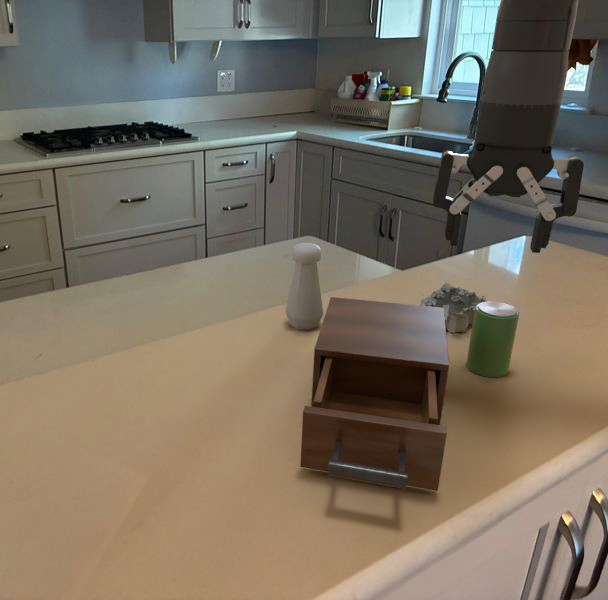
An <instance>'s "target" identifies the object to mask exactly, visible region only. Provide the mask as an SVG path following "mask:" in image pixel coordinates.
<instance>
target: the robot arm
mask: <svg viewBox="0 0 608 600" xmlns="http://www.w3.org/2000/svg"><path fill="white" fill-rule="evenodd" d="M578 5H579V0H500V3H499V7H498V9H497V14H496V20H495V25H494V32H493V37H492V43H491V44H492V45H491V50H490V56H489V59H488V63H487V66H486V69H485V73H484V78H483V84H482V86H481V89H480V94H481V96H480V97H481V98H480V103H479V110H478V114H477V115H478V116H477V123H476V127H475V128H476V129H475V135H474V142H473V147H472V149H471V150H470V152H469V153H468V154H466V153H465V154H464V153H453V151H451V150H450V149H449V150H447V149H446V150H444V151H442V154H441V157H440V160H439V161H440V162H439V166H438V172H437V176H436V181H435V186H434V191H433V197H432V203H433V204H432V205H433V206H434V207H435V208H440V209H443V210H445V211H446V212H447V215H446V222H445V229H444V236H445V240H446V241H449V245H450V246H451V247H452V246H453V247H457V246H458V241H459V235H460V231H461V230H460V229H461V223H462V216H463V215H462V211H463V210H464V209H465V208H466V207H467V206H468V205H470V203H472V202H473V201H475V200H476V199H477V198H478V197H479V196H480V195H481V194H482V193H484V194H486V195H487V196H489V197H498V196H508V197H511V198H521V197H523V196H525V195H527V194H528V195H529V197H530V199H531V201H533V203H534V205H535V207H536V208H537V209H538V211H539V215H536V217H535V221H534V226H533V231H532V235H531V240H530V246H529V247H530V251H531V253H533V254H540V253H541V250H542V249H546V248H547V247H548V245H549V241H550V238H551V233H552V230H553V225H554V222H555V220H557V219H560V218H563V217H568V218H569V217H574V216H575V215H576V213H577V210H578V203H579V196H580V191H581V184H582V179H583V173H584V166H585V164H584V162H583V160H581V158H580V157H578V156H577V155H570V156H568V157H557V158H556V157H553V154H552V150H553V144H554V140H555V135H556V129H557V124H558V121H559V116H560V111H561V106H562V101H563V97H564V91H565V86H566V82H567V76H568V67H569V66H568V64H569V54H570V51H569V50H570V49H571V45H572V39H573V33H574V31H575V30H574V29H575V25H576V19H577V13H578ZM464 165H465V166H467V169H468V171H469V172H470V174H471V175H472V178H470V180H468V182H466V183H465V184H464V185H463V187H462V188H461V189H460V191H458V192H457V194H455V195H454V196H453V197H450V196H448V195H447V194H448V190H449V184H450V180H451V175H455V174H457V173H459V171H460V168H461V167H462V166H464ZM553 169H554V170H556V172H557V173H556V174H557V176H558V178H560V179H561V180H562V185H561V192H560V197H559V202H556V203H552V204H551V203H550V201H549V200H548V198H547V196H546V194H545V193H544V191H543V190H542V188H541V187H540V184H539V183H541V181H542V180H544V178H546V177H547V176H548V175H549V174H550V173H551V172H552V171H553Z"/></svg>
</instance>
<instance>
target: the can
mask: <svg viewBox="0 0 608 600" xmlns="http://www.w3.org/2000/svg"><path fill="white" fill-rule="evenodd" d="M519 318H520V311H519V309H517V308H516V307H515V306H513V305H511V304H509V303H505V302H501V301H495V300H494V301H493V300H492V301H491V300H490V301H485V302H482V303H480V304H478V305H477V306H476V308H475V314H474V320H473V324H472V326H471V333H470V338H469V344H468V351H467V356H466V361H465V365H466V367H467V369H468V370H470V371H471V372H472V373H474V374H476V375H479V376H482V377H488V378H500V377H503V376H506V375H507V374H508V373H509V370H510V369H509V368H510V364H511V360H512V359H511V358H512V353H513V348H514V344H515V343H514V342H515V338H516V332H517V328H518V323H519Z"/></svg>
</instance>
